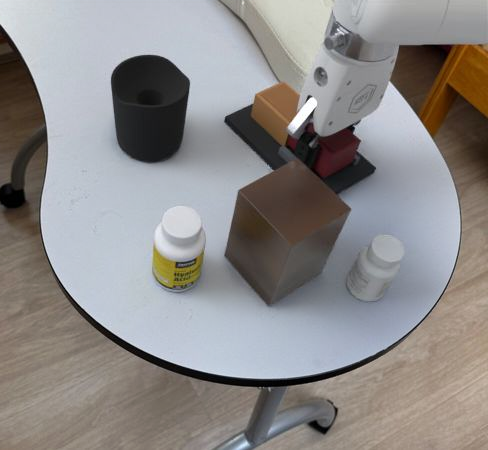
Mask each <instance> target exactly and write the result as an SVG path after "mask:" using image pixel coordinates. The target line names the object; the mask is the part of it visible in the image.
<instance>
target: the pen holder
mask: <svg viewBox="0 0 488 450" xmlns="http://www.w3.org/2000/svg"><path fill="white" fill-rule="evenodd" d="M190 88H191V80H190V79H189V77H188V76H187V75H186V74H185V73H184V72H183V71H182V70H181V69H180V68H179V67H178V66H177V65H176V64H175V63H174V62H172V61H171V60H170V59H169V58H166V57H164V56H162V55H157V54H141V55H140V54H139V55H135V56H131V57H129V58H127V59H124V60H122V61H121V62H120V63H119V64H117V66H115V67H114V69H113V70H112V72H111V76H110V89H111V98H112V108H113V109H112V110H113V119H114V127H115V128H114V129H115V135H116V141H117V144H118V146H119V148H120V149H121V151H122V152H123V153H125V154H126V155H127V156H129V157H130V158H132V159H134V160H136V161H141V162H146V163H148V162H149V163H152V162H153V163H155V162H160V161H164V160H166V159H168V158H170V157H172V156H173V155H174V154H176V153H177V151H179V149H180V147H181V146H182V143H183V138H184V131H185V125H186V120H187V119H186V118H187V111H188V103H189V98H190V97H189V96H190Z"/></svg>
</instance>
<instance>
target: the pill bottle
mask: <svg viewBox="0 0 488 450" xmlns="http://www.w3.org/2000/svg"><path fill="white" fill-rule="evenodd" d="M404 257H405V247H404V245H403V243H402V242H401V241H400V240H399V239H398V238H397V237H395V236H393V235H390V234H378V235H376V236H375V237H374V238H373V239H372V241H371V242H370V243H369V244H367V245H366V246H364V247H363V248H362V249H361V250H360V252H359V254H358V255H357V257H356V259H355V261H354V263H353V265H352V266H351V268H350V271H348V274H347V276H346V286H347V289H348V291H349V292H350V294H351V295H352V296H354V297H355V298H356V299H358V300H360V301H364V302H375V301H379V300H380V299H381V298H382V297H384V295H385V293H386V292H387V290H388V289H389V287H390V286H391V284H392V283H393V281H394V280H395V278H396V277H397V275H398V273H399V272H400V269H401V262H402V260H403V258H404Z"/></svg>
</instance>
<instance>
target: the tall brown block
mask: <svg viewBox="0 0 488 450" xmlns="http://www.w3.org/2000/svg"><path fill="white" fill-rule="evenodd" d="M352 209H353V208H351V207H350V206H349V205H348V204H347V203H346V202H345V201H344V199H342V198H341V197H340V196H339V195H338V194H337V195H336V194H335V193H334V192H333V191H332V190H331V189H330V188H329V187H328V186H327V185H326V184H325V183H324V182H323V181H322V180H320V179H319V178H318V177H317V176H316V175H315V174H314V173H313V172H312V171H311V170H310V169H309V168H308V167H307V166H306V165H305V164H304V163H302V162H301V161H300V160H299V159H298V158H297V159H295V160H293V161H291V162H289V163H287V164H286V165H284V166H282V167H280V168H278V169H276V170H272V171H271V172H269V173H267V174H265V175H263V176H261V177H260V178H258V179H256V180H254V181H252V182H250V183H249V184H246V185H245V186H243V187H241V188H239V189H238V190H237V194H236V199H235V203H234V208H233V213H232V218H231V222H230V226H229V231H228V237H227V241H226V246H225V251H224V258H225V259H226V260H227V261H228V262H229V263H230V264H231V266H232V267H233V268H234V269H235V271H237V273H238V274H240V276H241V277H242V279H244V280H245V281H246V283H247V284H248V286H250V288H251V289H252V290H253V291H254V292H255V293H256V294H257V295H258V297H259V298H260V299H261V300H262V301H263V303H264V304H265V305H266V306H267V307H269V308H270V307H271V306H273V305H275V304H276V303H277V302H279V301H280V300H282V299H283V298H285V297H287V296H288V295H290V294H291V293H293V292H294V291H296V290H298V289H299V288H300V287H303V285H305V284H306V283H308V282H310V281H311V280H313V279H314V278H315V277H318V275H320V274H322V273H323V270H324V268H325V266H326V264H327V262H328V260H329V257H330V255H331V253H332V251H333V249H334V247H335V245H336V243H337V241H338V239H339V237H340V234H341V232H342V230H343V228H344V227H345V224H346V222H347V220H348V218H349V216H350V214H351V211H352Z"/></svg>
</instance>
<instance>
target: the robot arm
mask: <svg viewBox="0 0 488 450" xmlns="http://www.w3.org/2000/svg"><path fill="white" fill-rule="evenodd" d="M323 35H324V36H323V42H322V43H320V46H319V48H318V50H317V53H316V54H315V56H314V59H313V61H312V62H311V66H310V68H309V70H308V72H307V75H306V78H305V81H304V83H303V86H302V89H301V91H300V94H299V95H300V99H299V103H298V107H297V115H296V117H295V118H294V119H293V120H292V122H291V123H290V124H289V125H288V127H287V128H286V132H287V133H288V134H289V135H291V136H292V137H293V138H295V139H298V140H297V144H296V147H295V150H294V155H295V156H296V157H297V158H298V159H299V160H300V161H301V162H302V163H304V164H305V165H306V166H307V167H308V168H309V169H311V168H313V167H314V165H315V162H316V159H317V156H318V154H319V151H320V148H321V146H320V144H319V142H320V140H321V139H322V137H323V136H329V135H332V134H334V133H336V132H338V131H340V130H342V129H344V128H347V129H348V130H350V131H351V132H352V133H353V134H355V133H354V132H355V130H356V127H357V126H358V125H359V124H360V123H361V121H362V119H364V118H366V117H368V116H370V115H372V114H373V113H374V112H375V111H376V110H378V109H379V107H380V105H381V103H382V100H383V99H384V96H385V93H386V91H387V88H388V86H389V83H390V81H391V77H392V75H393V72H394V68H395V66H396V61H397V58H398V53H399V49H400V48H399V47H400V46H423V45H488V0H334V2H333V5H332V8H331V12H330V14H329V19H328V22H327V25H326V28H325V31H324V34H323ZM311 124H312V125H313V126H314V130H315V134H314V135H312V134H311V133H310V132H309V131H308V128H309V126H310V125H311Z"/></svg>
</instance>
